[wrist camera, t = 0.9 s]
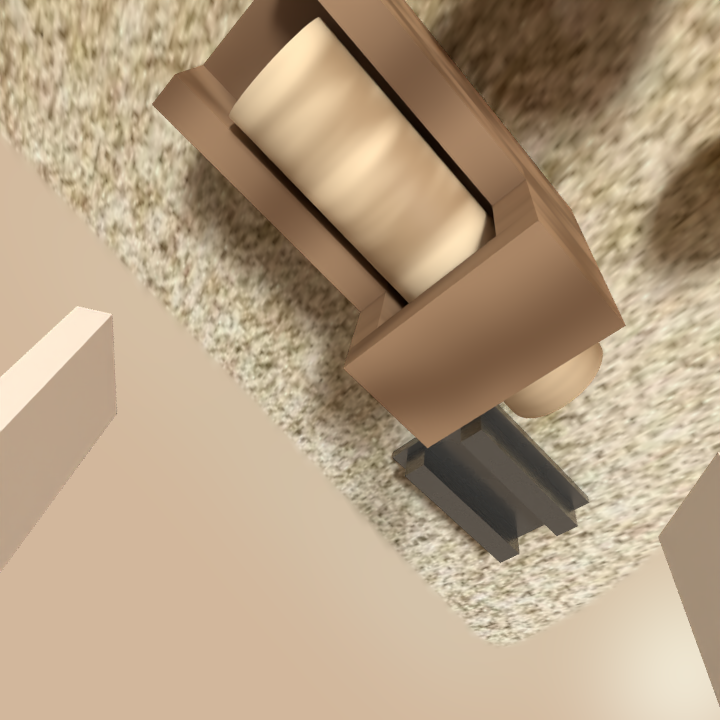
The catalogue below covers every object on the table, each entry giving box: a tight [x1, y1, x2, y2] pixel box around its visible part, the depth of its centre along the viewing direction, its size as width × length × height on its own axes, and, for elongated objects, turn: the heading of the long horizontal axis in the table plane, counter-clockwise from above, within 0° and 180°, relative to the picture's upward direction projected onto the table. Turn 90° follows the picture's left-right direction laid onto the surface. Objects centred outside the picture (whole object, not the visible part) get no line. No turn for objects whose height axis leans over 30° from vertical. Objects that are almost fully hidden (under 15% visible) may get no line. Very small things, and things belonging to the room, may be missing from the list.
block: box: [152, 0, 626, 448], centre depth 26 cm, size 17×9×13 cm, turn 44°
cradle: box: [393, 405, 589, 563], centre depth 41 cm, size 11×8×3 cm
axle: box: [229, 17, 603, 418], centre depth 26 cm, size 18×5×5 cm, turn 44°
